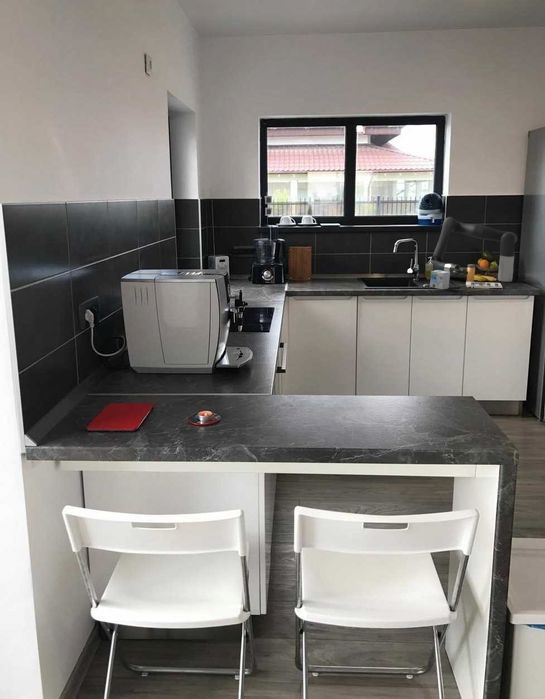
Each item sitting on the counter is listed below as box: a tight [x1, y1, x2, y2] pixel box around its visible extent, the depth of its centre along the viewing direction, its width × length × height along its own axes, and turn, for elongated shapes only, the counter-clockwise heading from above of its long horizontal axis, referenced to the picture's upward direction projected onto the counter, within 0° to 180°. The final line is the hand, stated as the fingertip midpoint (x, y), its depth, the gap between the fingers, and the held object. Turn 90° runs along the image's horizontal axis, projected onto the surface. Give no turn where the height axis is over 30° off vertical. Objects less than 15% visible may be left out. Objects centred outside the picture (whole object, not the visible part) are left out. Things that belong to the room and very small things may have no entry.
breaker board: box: [465, 281, 503, 289], centre depth 451 cm, size 22×14×3 cm, turn 78°
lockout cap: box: [465, 263, 476, 283], centre depth 463 cm, size 5×5×12 cm
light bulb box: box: [429, 270, 451, 290], centre depth 443 cm, size 11×7×11 cm, turn 37°
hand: (471, 272), depth 463 cm, fingers open, 8 cm apart
